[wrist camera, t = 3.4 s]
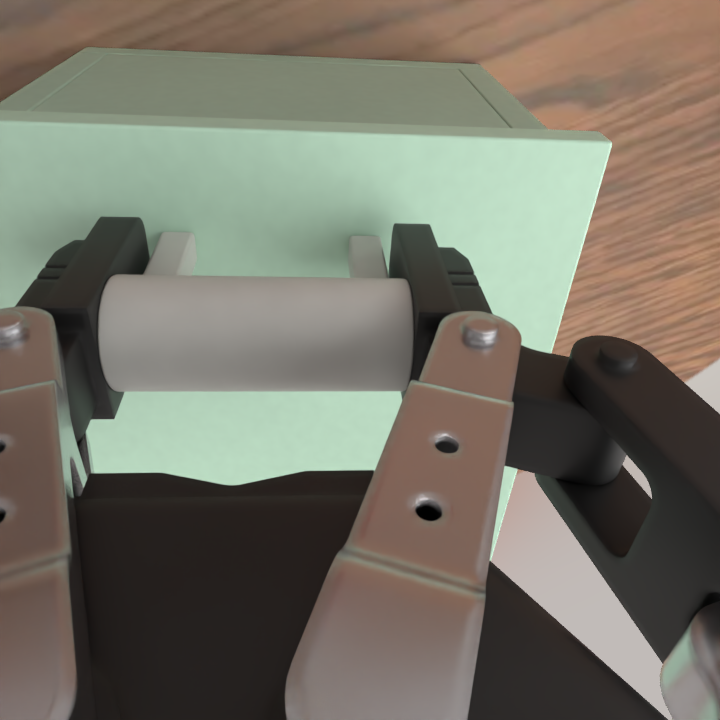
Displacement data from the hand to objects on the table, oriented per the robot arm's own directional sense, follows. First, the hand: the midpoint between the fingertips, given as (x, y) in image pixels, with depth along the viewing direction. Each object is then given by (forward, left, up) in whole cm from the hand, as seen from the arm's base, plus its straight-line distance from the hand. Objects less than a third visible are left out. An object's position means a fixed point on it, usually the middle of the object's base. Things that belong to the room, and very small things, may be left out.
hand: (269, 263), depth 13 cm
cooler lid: (+6, 0, -2) cm, 7 cm away
